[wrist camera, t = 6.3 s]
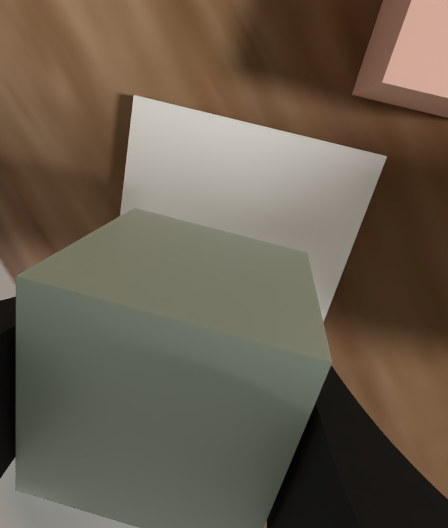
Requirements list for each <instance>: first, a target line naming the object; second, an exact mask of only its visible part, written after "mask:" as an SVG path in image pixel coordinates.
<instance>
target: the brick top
mask: <svg viewBox="0 0 448 528" xmlns="http://www.w3.org/2000/svg"><path fill="white" fill-rule="evenodd" d="M352 95H355V96H359V97H363V98H367V99H371V100H375V101H380V102H384V103H388V104H392V105H396V106H400V107H404V108H409V109H413V110H417V111H421V112H425V113H429V114H433V115H438V116H442V117H446V118H448V0H383V2H382V5H381V8H380V11H379V14H378V17H377V20H376V23H375V26H374V29H373V32H372V35H371V38H370V41H369V44H368V47H367V50H366V53H365V56H364V59H363V62H362V65H361V68H360V71H359V74H358V77H357V80H356V83H355V86H354V89H353V92H352Z"/></svg>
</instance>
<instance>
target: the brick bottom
mask: <svg viewBox="0 0 448 528" xmlns="http://www.w3.org/2000/svg"><path fill="white" fill-rule="evenodd" d="M331 364H332V359H331V354H330V350H329V345H328V341H327V337H326V332H325V328H324V323H323V319H322V315H321V310H320V306H319V301H318V297H317V293H316V288H315V284H314V279H313V275H312V271H311V266H310V262H309V258H308V253H307V252H303V251H299V250H296V249H292V248H288V247H284V246H280V245H276V244H272V243H269V242H265V241H261V240H257V239H253V238H249V237H245V236H242V235H238V234H234V233H230V232H226V231H222V230H218V229H214V228H211V227H207V226H203V225H199V224H195V223H191V222H187V221H184V220H180V219H176V218H172V217H168V216H164V215H160V214H157V213H153V212H149V211H145V210H141V209H137V208H133V209H132V210H130V211H128V212H126V213H125V214H123V215H121V216H119V217H118V218H116V219H114V220H112V221H111V222H109V223H107V224H105V225H104V226H102V227H100V228H98V229H97V230H95V231H93V232H91V233H90V234H88V235H86V236H84V237H83V238H81V239H79V240H78V241H76V242H74V243H72V244H71V245H69V246H67V247H65V248H64V249H62V250H60V251H58V252H57V253H55V254H53V255H51V256H50V257H48V258H46V259H44V260H43V261H41V262H39V263H37V264H36V265H34V266H32V267H30V268H29V269H27V270H25V271H23V272H22V273H20V274H18V275H16V490H17V491H20V492H24V493H27V494H30V495H33V496H37V497H40V498H43V499H47V500H50V501H53V502H57V503H60V504H64V505H66V506H70V507H73V508H77V509H80V510H83V511H86V512H90V513H93V514H96V515H100V516H103V517H106V518H109V519H113V520H116V521H119V522H123V523H126V524H129V525H132V526H136V527H139V528H264V525H265V523H266V520H267V518H268V516H269V513H270V511H271V508H272V506H273V504H274V501H275V499H276V496H277V494H278V492H279V489H280V487H281V484H282V482H283V480H284V477H285V475H286V472H287V470H288V468H289V465H290V463H291V460H292V458H293V456H294V453H295V451H296V448H297V446H298V444H299V441H300V439H301V436H302V434H303V432H304V429H305V427H306V424H307V422H308V420H309V417H310V415H311V412H312V410H313V408H314V405H315V403H316V400H317V398H318V396H319V393H320V391H321V388H322V386H323V383H324V381H325V379H326V376H327V374H328V371H329V369H330V367H331Z"/></svg>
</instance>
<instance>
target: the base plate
mask: <svg viewBox="0 0 448 528" xmlns="http://www.w3.org/2000/svg"><path fill="white" fill-rule="evenodd" d="M386 158H387V156H384V155H381V154H376V153H372V152H368V151H364V150H360V149H356V148H352V147H347V146H343V145H339V144H335V143H331V142H327V141H323V140H319V139H314V138H310V137H306V136H302V135H298V134H294V133H290V132H286V131H281V130H277V129H273V128H269V127H265V126H261V125H257V124H253V123H248V122H244V121H240V120H236V119H232V118H228V117H224V116H220V115H215V114H211V113H207V112H203V111H199V110H195V109H191V108H187V107H182V106H178V105H174V104H170V103H166V102H162V101H158V100H154V99H149V98H145V97H141V96H136V95H134V96H133V105H132V114H131V123H130V132H129V140H128V149H127V158H126V167H125V176H124V184H123V193H122V202H121V211H120V216H121V215H123V214H125V213H126V212H128V211H130V210H132V209H133V208H137V209H141V210H145V211H149V212H153V213H157V214H160V215H164V216H168V217H172V218H176V219H180V220H184V221H187V222H191V223H195V224H199V225H203V226H207V227H211V228H214V229H218V230H222V231H226V232H230V233H234V234H238V235H242V236H245V237H249V238H253V239H257V240H261V241H265V242H269V243H272V244H276V245H280V246H284V247H288V248H292V249H296V250H299V251H303V252H307V253H308V258H309V262H310V266H311V271H312V275H313V279H314V284H315V288H316V293H317V297H318V301H319V306H320V310H321V315H322V319H323V322H324V320H325V317H326V314H327V312H328V309H329V307H330V304H331V301H332V299H333V296H334V294H335V291H336V288H337V286H338V283H339V280H340V278H341V275H342V273H343V270H344V267H345V265H346V262H347V260H348V257H349V254H350V252H351V249H352V247H353V244H354V241H355V239H356V236H357V234H358V231H359V228H360V226H361V223H362V221H363V218H364V215H365V213H366V210H367V208H368V205H369V202H370V200H371V197H372V195H373V192H374V189H375V187H376V184H377V181H378V179H379V176H380V174H381V171H382V168H383V166H384V163H385V161H386Z"/></svg>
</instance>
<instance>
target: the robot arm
mask: <svg viewBox="0 0 448 528" xmlns="http://www.w3.org/2000/svg"><path fill="white" fill-rule="evenodd" d="M15 457H16V297H13V298H9V299H5V300H1V301H0V478H1V477H2V475H3V473H4V472H5V471H6V469H7V468H8V466H9V465H10V464H11V462H12V461H13V460H14V458H15ZM267 528H448V499H447V498H446V497H445V496H443V495H442V494H441V493H440V492H439V491H438V490H437V489H436V488H435V487H434V486H433V485H432V484H431V483H430V482H429V481H428V480H427V479H426V478H425V477H424V476H423V475H422V474H421V473H420V472H419V471H418V470H417V469H416V468H415V467H414V466H413V465H412V464H411V463H410V462H409V461H408V460H407V459H406V458H405V456H404V455H403V454H402V453H401V452H400V451H399V450H398V449H397V448H396V447H395V446H394V445H393V444H392V443H391V441H390V440H389V439H388V438H387V437H386V436H385V435H384V433H383V432H382V431H381V430H380V429H379V428H378V426H377V425H376V424H375V423H374V421H373V420H372V419H371V418H370V417H369V415H368V414H367V413H366V412H365V410H364V409H363V408H362V407H361V405H360V404H359V403H358V402H357V400H356V399H355V398H354V396H353V395H352V394H351V392H350V391H349V390H348V388H347V387H346V385H345V384H344V383H343V381H342V380H341V379H340V377H339V376H338V374H337V373H336V371H335V370H334V368H333V367H332V366H331V367H330V369H329V371H328V374H327V376H326V379H325V381H324V383H323V386H322V388H321V391H320V393H319V396H318V398H317V400H316V403H315V405H314V408H313V410H312V412H311V415H310V417H309V420H308V422H307V424H306V427H305V429H304V432H303V434H302V436H301V439H300V441H299V444H298V446H297V448H296V451H295V453H294V456H293V458H292V460H291V463H290V465H289V468H288V470H287V472H286V475H285V477H284V480H283V482H282V484H281V487H280V489H279V492H278V494H277V496H276V499H275V501H274V504H273V506H272V508H271V511H270V513H269V516H268V518H267Z"/></svg>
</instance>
